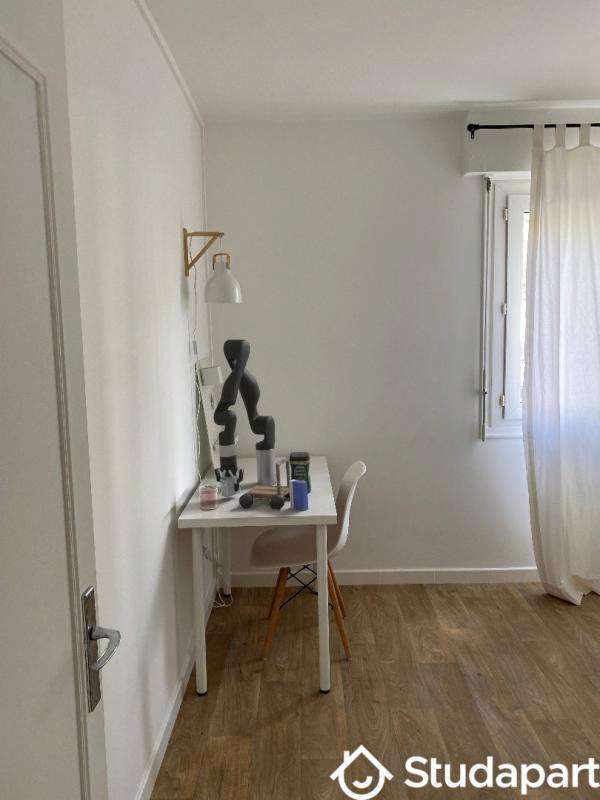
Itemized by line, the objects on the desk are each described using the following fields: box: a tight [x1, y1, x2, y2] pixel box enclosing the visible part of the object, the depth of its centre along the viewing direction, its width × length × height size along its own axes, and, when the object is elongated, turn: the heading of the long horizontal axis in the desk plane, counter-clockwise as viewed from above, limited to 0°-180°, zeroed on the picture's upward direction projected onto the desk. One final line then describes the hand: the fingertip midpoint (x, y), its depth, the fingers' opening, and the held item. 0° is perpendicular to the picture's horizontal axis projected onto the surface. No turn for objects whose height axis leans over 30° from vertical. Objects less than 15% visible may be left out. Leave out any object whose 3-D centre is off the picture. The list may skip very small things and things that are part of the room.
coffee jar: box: [289, 451, 312, 494], centre depth 297 cm, size 10×8×19 cm
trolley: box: [238, 456, 291, 511], centre depth 281 cm, size 18×20×19 cm
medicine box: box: [219, 474, 241, 498], centre depth 292 cm, size 8×4×9 cm, turn 141°
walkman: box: [289, 479, 309, 511], centre depth 271 cm, size 8×3×12 cm, turn 47°
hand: (230, 490), depth 292 cm, fingers closed on medicine box, 5 cm apart
